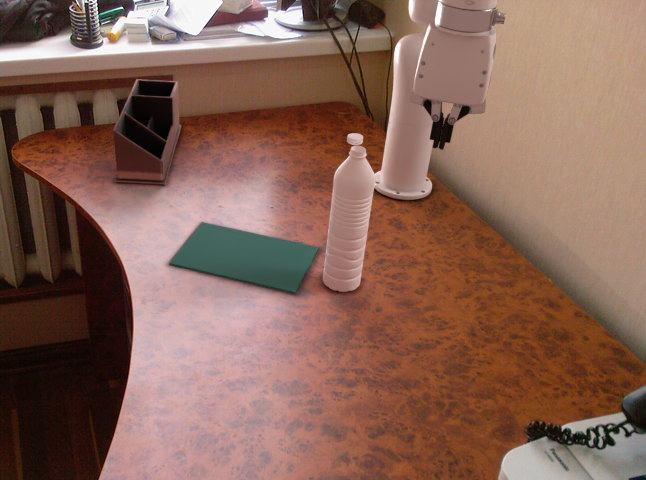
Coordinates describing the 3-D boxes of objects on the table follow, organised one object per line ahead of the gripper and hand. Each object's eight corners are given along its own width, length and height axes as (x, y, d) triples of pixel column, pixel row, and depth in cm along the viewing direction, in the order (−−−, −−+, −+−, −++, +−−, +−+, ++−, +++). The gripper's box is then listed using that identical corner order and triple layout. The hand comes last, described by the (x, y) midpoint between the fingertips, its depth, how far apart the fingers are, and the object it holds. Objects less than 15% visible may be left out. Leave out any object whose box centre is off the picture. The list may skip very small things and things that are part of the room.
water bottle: (362, 293, 125) (382, 158, 110) (324, 292, 125) (339, 156, 110) (356, 264, 132) (374, 133, 117) (320, 263, 132) (334, 132, 117)
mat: (202, 223, 141) (202, 221, 140) (318, 249, 135) (318, 247, 135) (169, 264, 129) (169, 262, 129) (295, 294, 124) (295, 292, 124)
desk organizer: (181, 127, 175) (180, 80, 169) (165, 185, 152) (163, 134, 145) (137, 124, 175) (134, 77, 168) (114, 182, 152) (109, 131, 145)
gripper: (523, 18, 100) (492, 144, 110) (413, 3, 103) (393, 127, 114) (520, 32, 94) (488, 165, 105) (404, 16, 97) (384, 146, 108)
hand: (439, 145), depth 109 cm, fingers closed
